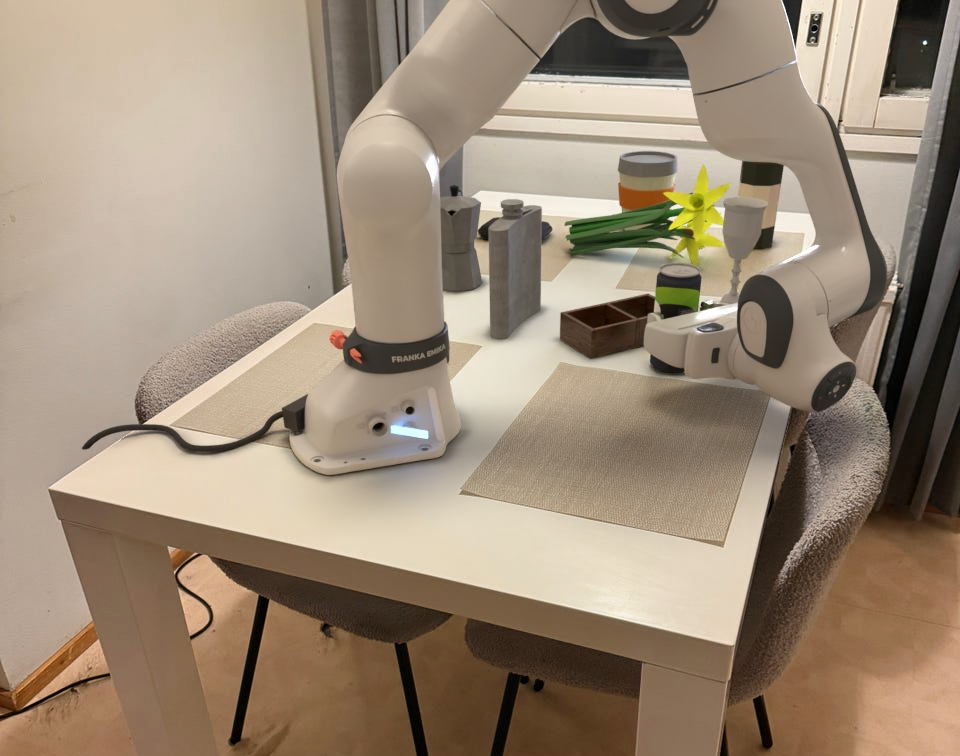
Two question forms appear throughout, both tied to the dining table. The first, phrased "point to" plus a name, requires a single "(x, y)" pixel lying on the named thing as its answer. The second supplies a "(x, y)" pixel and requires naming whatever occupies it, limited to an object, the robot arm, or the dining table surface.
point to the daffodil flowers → (655, 224)
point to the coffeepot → (459, 241)
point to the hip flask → (514, 266)
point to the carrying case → (484, 228)
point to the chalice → (741, 234)
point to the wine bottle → (762, 193)
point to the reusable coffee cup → (645, 179)
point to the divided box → (607, 326)
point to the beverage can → (676, 299)
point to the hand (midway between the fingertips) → (678, 311)
